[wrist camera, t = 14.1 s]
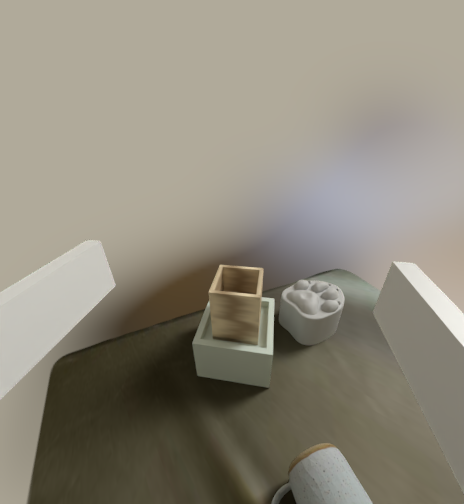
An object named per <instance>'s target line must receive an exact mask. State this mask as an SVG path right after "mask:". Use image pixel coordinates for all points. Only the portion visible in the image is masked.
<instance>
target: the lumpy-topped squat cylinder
mask: <svg viewBox="0 0 464 504" xmlns="http://www.w3.org/2000/svg"><path fill="white" fill-rule="evenodd" d="M343 306H344V295H343V293H342V291H341V289H340V288H339V287H337V286H335V285H333V284H331V283H327V282H323V281H306V280H300V281H298V282H297V283H296V284H295V285H293V286H291V287H289V288H287V289H285V290H284V291H283V292H282V295H281V303H280V312H279V323H280V325H281V326H282V327H284V328H285V329H286V330H287V331H289V332H290V334H291V335H292V336H293V338H294V339H295V340H296V341H297V342H299V343H300V344H303V345H315V344H318V343H320V342H322V341H324V340H326V339H328V338H329V337H331V336H332V335H333V334H334V333H335V332H336V329H337V326H338V322H339V319H340V316H341V312H342V309H343Z"/></svg>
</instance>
